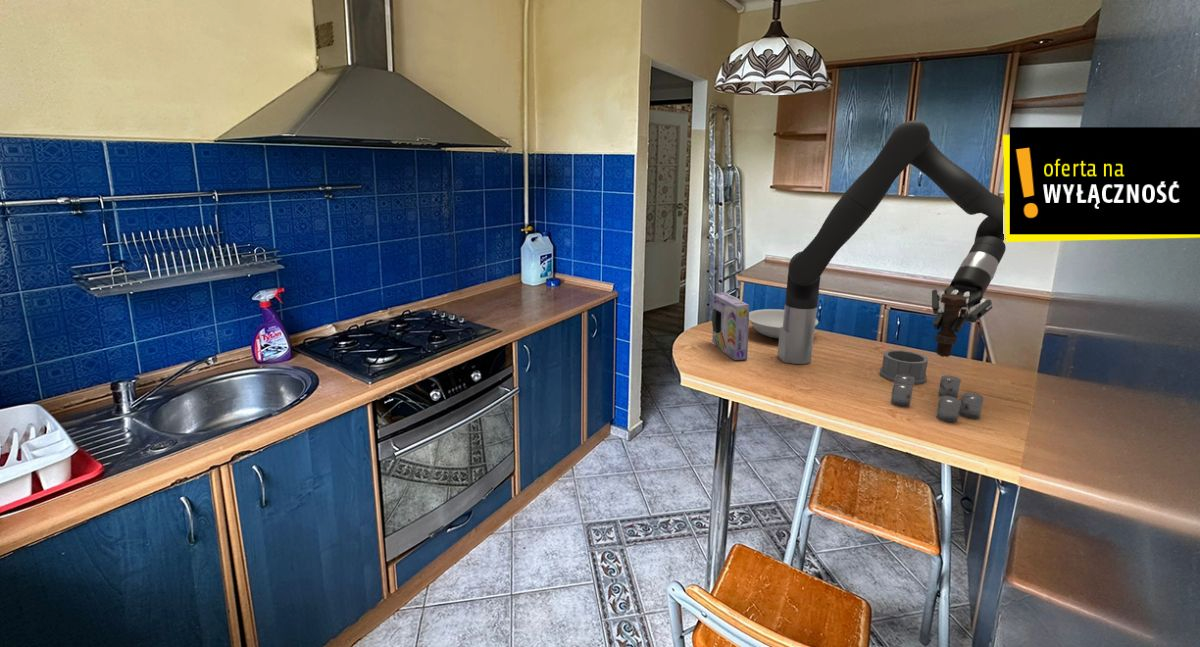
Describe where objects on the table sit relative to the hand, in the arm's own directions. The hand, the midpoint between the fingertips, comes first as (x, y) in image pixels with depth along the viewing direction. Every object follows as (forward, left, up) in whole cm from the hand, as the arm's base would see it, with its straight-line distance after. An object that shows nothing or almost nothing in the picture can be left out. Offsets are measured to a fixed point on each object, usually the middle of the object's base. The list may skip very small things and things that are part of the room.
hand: (944, 329), depth 138 cm
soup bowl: (-19, +58, -20) cm, 65 cm away
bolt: (+2, +1, -7) cm, 7 cm away
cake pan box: (-41, +42, -20) cm, 63 cm away
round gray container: (+4, +20, -20) cm, 29 cm away
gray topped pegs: (0, 0, -20) cm, 20 cm away
